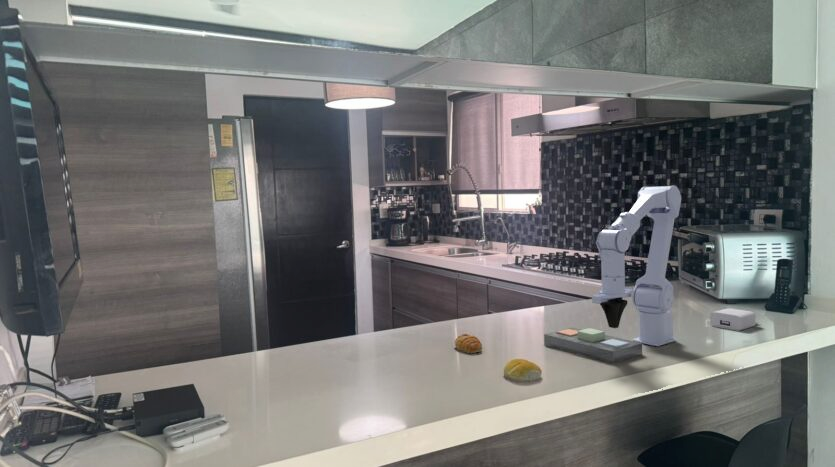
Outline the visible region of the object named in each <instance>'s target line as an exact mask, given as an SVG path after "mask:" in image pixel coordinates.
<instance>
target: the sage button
mask: <svg viewBox="0 0 835 467" xmlns="http://www.w3.org/2000/svg"><path fill="white" fill-rule="evenodd" d="M605 332H606V331H604V330H599V329H595V328H591V327H590V328H589V327H588V328H584V329H581V330H580V331H578V339H581V340H585V341H589V342H596V341H600V340H604V339H605V335H606V333H605Z"/></svg>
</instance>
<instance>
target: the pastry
mask: <svg viewBox="0 0 835 467" xmlns="http://www.w3.org/2000/svg"><path fill="white" fill-rule="evenodd" d="M454 346H455V348H456V349H457V350H459V351H461V352H462V351H463V353H465V352H466V354H475V353H480V352H482V350H483V345H482V342H481V340H480V339H479V338H478V337H477V336H475V335H471V334H468V333H462V334H461V335H459V336H457V338H456V339H455V341H454Z"/></svg>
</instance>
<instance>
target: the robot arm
mask: <svg viewBox="0 0 835 467" xmlns="http://www.w3.org/2000/svg"><path fill="white" fill-rule="evenodd" d="M681 203H682V195H681V192H680V190H679V187H677V185H667V186H666V185H663V186H662V185H661V186H642V187H641V188H640V189H639V191H638V192H637V199H636V202H635V203H634V204H633V205H632V207H631V209H630V210H629V211H625V212H621V213H620V214H619V216H618V217H617V219H616V220H615V221H614V222H613V223H612V224H611V225H610V227H608V229H602V231H600V232H599V233H598V235H597V237H596V240H595V244H596V247H597V249H598V256H599V258H600V260H601V265H600V266H601V290H598V293H596V294H593V295H591V296H592V297H591V301H592V302H591V303H592V304H597V305H600V306H601V309H602V310H603V311H604V312H603V313H604V315H605V317H606V322H607V325H608V328H612V329H618V328H620V327H619V326H620V323H621V318H622V316H623V313H624V310H625V308H626V307H627V305H628V300H626V299H625V298H629V297H630V298H631V302H632V304H633V306H635V309H636V311H638V337H635V338H632V339H631V341H635V342H639V343H642V344H645V345H650V346H653V347H654V346H655V347H659V346H662V345H666V344H670V343H672V342H675V341H677V339H676V338H674V317H673V314H672V313H671V311H670V310H671V309H672V307H673V305H674V300H675V297H674V285H673V284H672V283H671V282H670V281H669V280H668V279H667V278H666V273H667V272H666V271H667V267H668V260H669V255H670V250H671V242H672V237H673V230H674V224H675V219H677V218H678V217H679V214H680V210H681V209H680V208H681ZM645 216H647V217H648V218H651V219H652V220H653V228H652V233H651V238H650V239H651V240H650V245H649V252H648V257H647V262H646V268H645V274H644V275H643V276H641V277H639V278H638V279H637V280H636V281H635V286H634V287H633V289H632V288H626V274H625V273H626V270H625V268H626V263H625V259H626V258H625V252H626V251H627V250H628V249H629V247H630V242H631V241H632V237H633V236H634V234H635V233H636V232H637V231H638V230H639V228H640V227H641V220H642V219H643V218H644V217H645Z"/></svg>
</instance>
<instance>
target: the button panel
mask: <svg viewBox="0 0 835 467" xmlns="http://www.w3.org/2000/svg"><path fill="white" fill-rule="evenodd" d="M566 329H571V330H576V331H580V330H582V328H577V327H569V328H565V329H561V330H556V331H552V332H548V333H544V334H543V338H544V339H543V342H544V346H547V347H551V348H552V347H553V348H555V349H559V350H562V351H567V352H570V353H574V354H578V355H581V356H585V357H589V358H592V359H596V360H600V361H604V362H607V363H611V364H615V363H618V362H623V361H626V360H628V359H632V358H636V357H639V356H641V355H643V343H640V342H636V341H632V340H630V339H625V338H621V337H617V336H612V335H607V334H605V339H604V340H600V341H596V342H589V341H585V340H581V339H578V335H576V336H572V337H569V336H565V335H561V334H557V332H558V331H562V330H566ZM611 339H615V340H619V341H623V342H628V343H629V345H627V346H623V347H620V348H614V347H610V346H606V345H602V344H600V342H603V341H607V340H611Z"/></svg>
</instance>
